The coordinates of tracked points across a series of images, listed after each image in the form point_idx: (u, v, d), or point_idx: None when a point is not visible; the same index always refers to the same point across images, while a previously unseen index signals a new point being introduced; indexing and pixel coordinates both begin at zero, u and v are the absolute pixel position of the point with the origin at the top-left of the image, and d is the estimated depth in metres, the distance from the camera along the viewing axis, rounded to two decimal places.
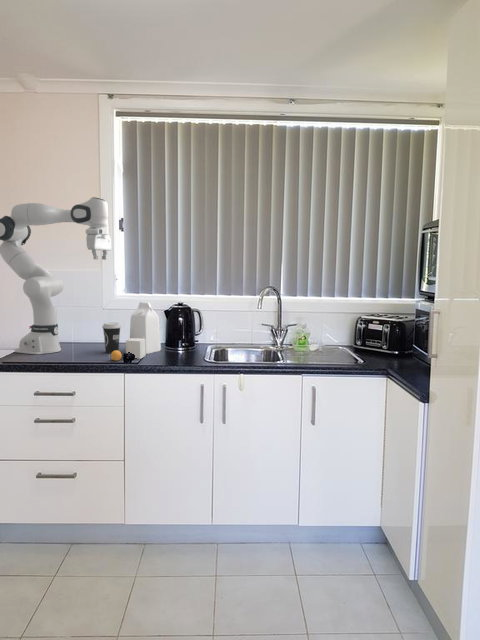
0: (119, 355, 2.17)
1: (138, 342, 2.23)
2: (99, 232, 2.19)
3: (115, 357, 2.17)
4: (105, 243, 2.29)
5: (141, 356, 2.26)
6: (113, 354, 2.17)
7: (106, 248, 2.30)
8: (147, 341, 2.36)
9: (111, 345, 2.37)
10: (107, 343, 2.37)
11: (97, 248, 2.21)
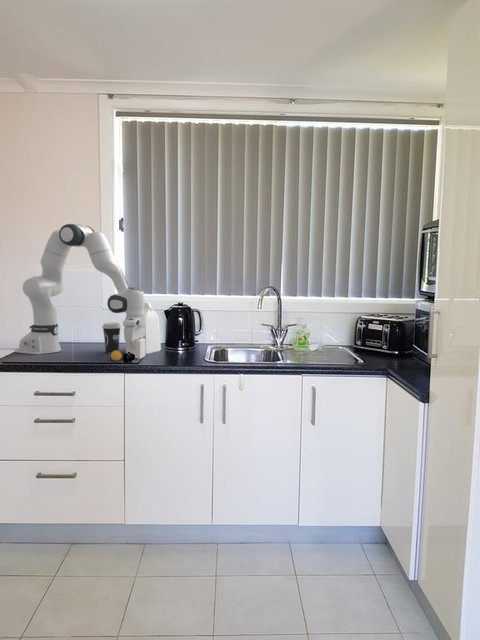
0: (119, 355, 2.17)
1: (138, 342, 2.23)
2: (136, 324, 2.19)
3: (115, 357, 2.17)
4: (141, 331, 2.29)
5: (141, 356, 2.26)
6: (113, 354, 2.17)
7: (141, 335, 2.30)
8: (147, 341, 2.36)
9: (111, 345, 2.37)
10: (107, 343, 2.37)
11: (134, 339, 2.21)
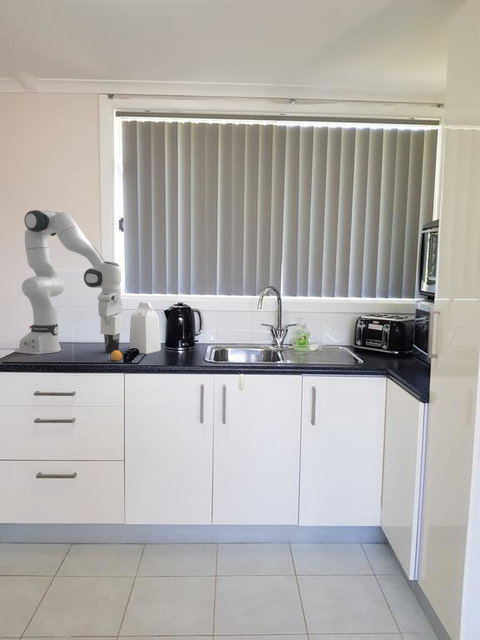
0: (119, 355, 2.17)
1: (113, 318, 2.19)
2: (111, 299, 2.14)
3: (115, 357, 2.17)
4: (116, 307, 2.24)
5: (116, 332, 2.21)
6: (113, 354, 2.17)
7: (117, 311, 2.25)
8: (147, 341, 2.36)
9: (111, 345, 2.37)
10: (107, 343, 2.37)
11: (109, 314, 2.16)
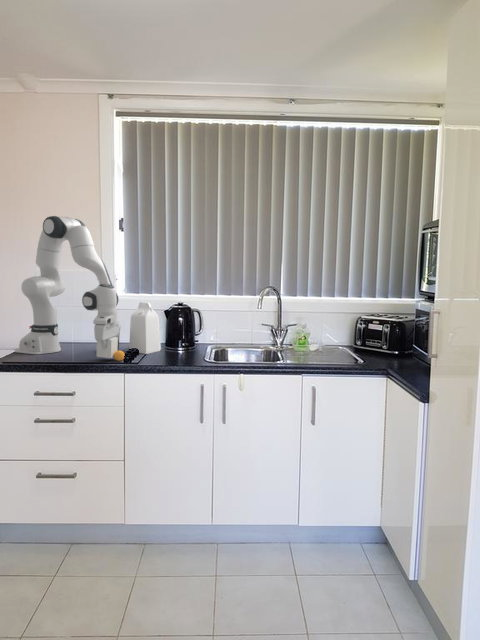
0: (122, 358, 2.17)
1: (109, 341, 2.15)
2: (107, 322, 2.10)
3: (117, 358, 2.17)
4: (113, 329, 2.20)
5: (112, 355, 2.17)
6: (117, 354, 2.17)
7: (114, 334, 2.22)
8: (147, 341, 2.36)
9: None
10: None
11: (105, 338, 2.12)
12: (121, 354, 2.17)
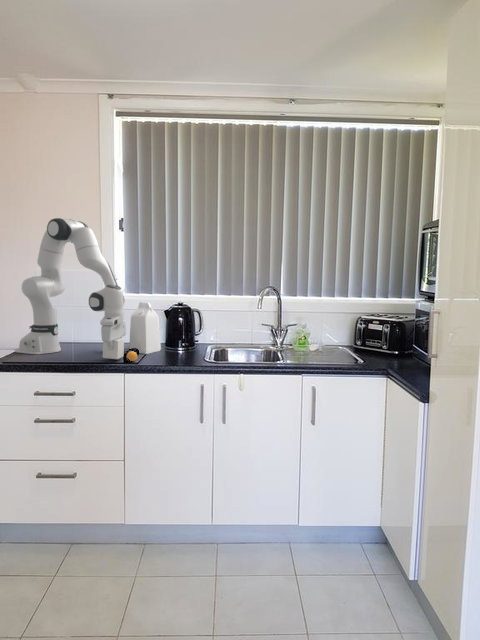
0: None
1: (116, 342, 2.14)
2: (114, 323, 2.10)
3: (128, 356, 2.16)
4: (120, 330, 2.20)
5: (118, 356, 2.17)
6: (131, 359, 2.16)
7: (121, 335, 2.21)
8: (147, 341, 2.36)
9: None
10: None
11: (112, 339, 2.12)
12: None
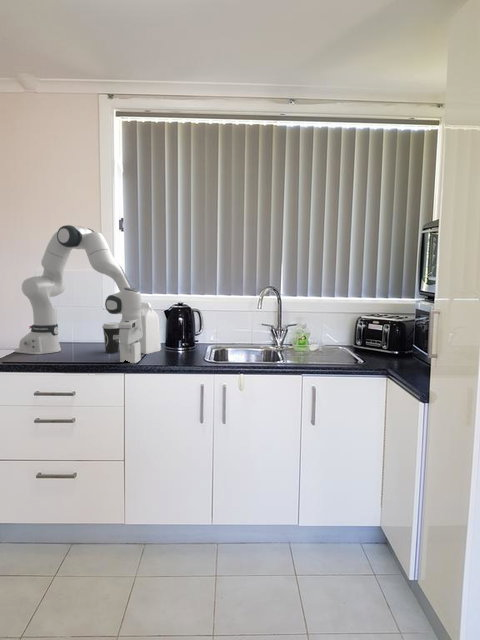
0: None
1: (133, 346, 2.13)
2: (132, 326, 2.09)
3: None
4: (137, 333, 2.19)
5: (136, 360, 2.16)
6: None
7: (138, 338, 2.20)
8: (147, 341, 2.36)
9: (111, 345, 2.37)
10: (107, 343, 2.37)
11: (130, 342, 2.10)
12: None
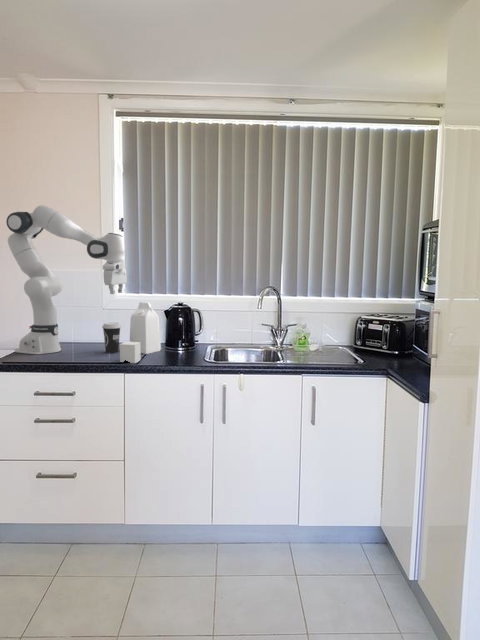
0: None
1: (133, 346, 2.13)
2: (116, 268, 2.22)
3: None
4: (121, 277, 2.32)
5: (136, 360, 2.16)
6: None
7: (122, 282, 2.34)
8: (147, 341, 2.36)
9: (111, 345, 2.37)
10: (107, 343, 2.37)
11: (114, 283, 2.24)
12: None
